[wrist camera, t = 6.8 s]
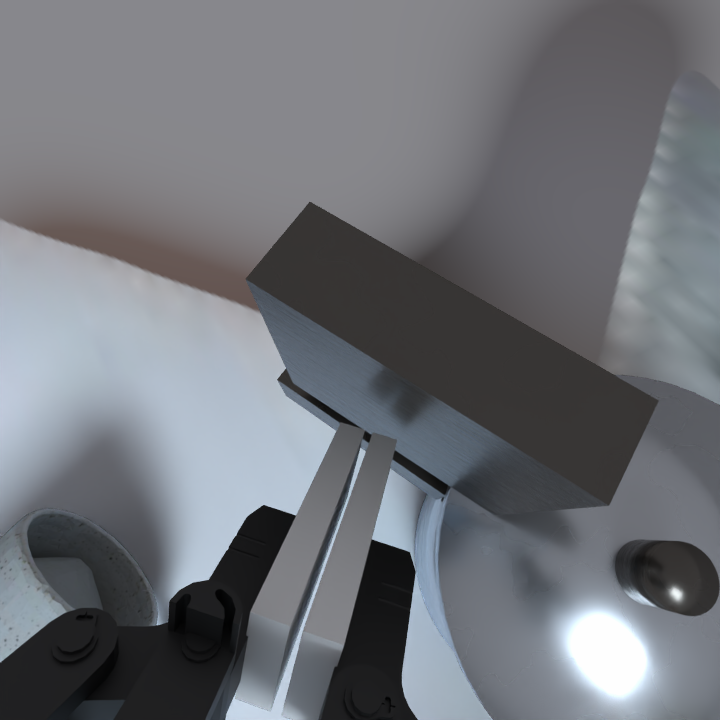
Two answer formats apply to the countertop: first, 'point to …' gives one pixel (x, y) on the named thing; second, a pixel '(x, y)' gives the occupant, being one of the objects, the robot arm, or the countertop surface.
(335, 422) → the pot
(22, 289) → the countertop surface
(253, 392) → the countertop surface
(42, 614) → the ceramic mug
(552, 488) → the lid
